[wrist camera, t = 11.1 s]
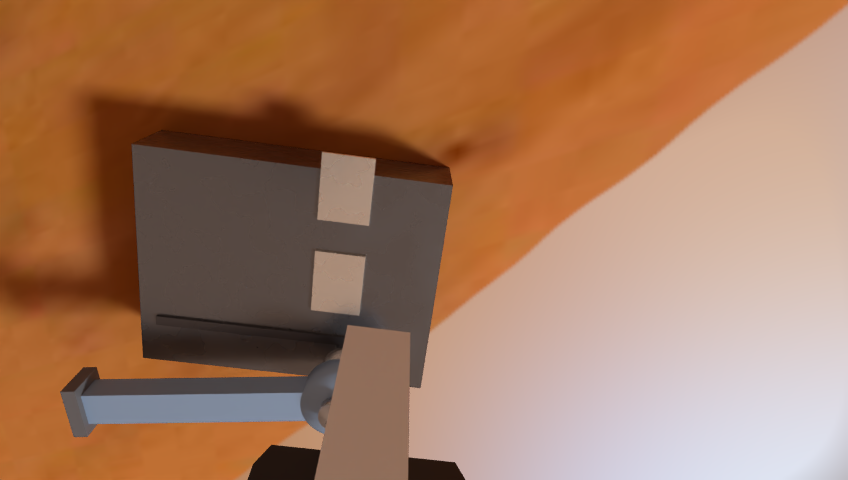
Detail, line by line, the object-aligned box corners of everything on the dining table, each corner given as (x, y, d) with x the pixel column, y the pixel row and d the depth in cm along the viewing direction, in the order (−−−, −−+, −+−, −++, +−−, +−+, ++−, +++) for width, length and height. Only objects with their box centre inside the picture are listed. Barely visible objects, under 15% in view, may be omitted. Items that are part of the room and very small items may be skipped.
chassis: (168, 332, 41) (103, 414, 32) (161, 114, 35) (80, 146, 27) (419, 360, 42) (419, 447, 33) (451, 152, 36) (461, 195, 28)
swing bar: (376, 354, 34) (373, 378, 32) (379, 414, 36) (376, 440, 34) (81, 359, 34) (57, 383, 32) (97, 418, 36) (76, 445, 34)
